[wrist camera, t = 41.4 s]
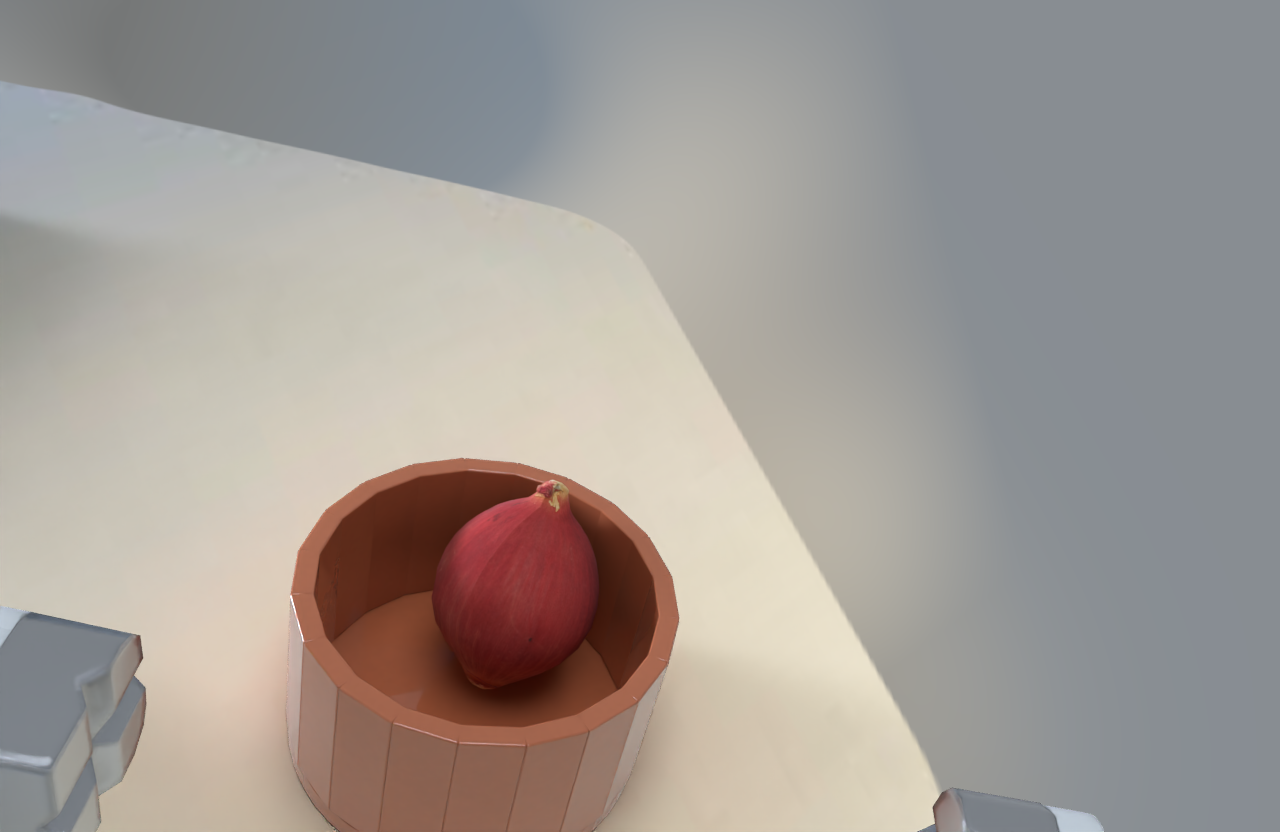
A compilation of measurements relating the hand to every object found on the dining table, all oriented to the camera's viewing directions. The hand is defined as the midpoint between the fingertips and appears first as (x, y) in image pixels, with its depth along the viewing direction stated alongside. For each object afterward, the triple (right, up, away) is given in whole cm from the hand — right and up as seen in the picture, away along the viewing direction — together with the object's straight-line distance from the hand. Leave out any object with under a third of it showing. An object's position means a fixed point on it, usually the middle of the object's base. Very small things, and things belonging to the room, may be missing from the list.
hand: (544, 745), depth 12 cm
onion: (-5, -6, +30) cm, 31 cm away
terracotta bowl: (-5, -8, +30) cm, 31 cm away
